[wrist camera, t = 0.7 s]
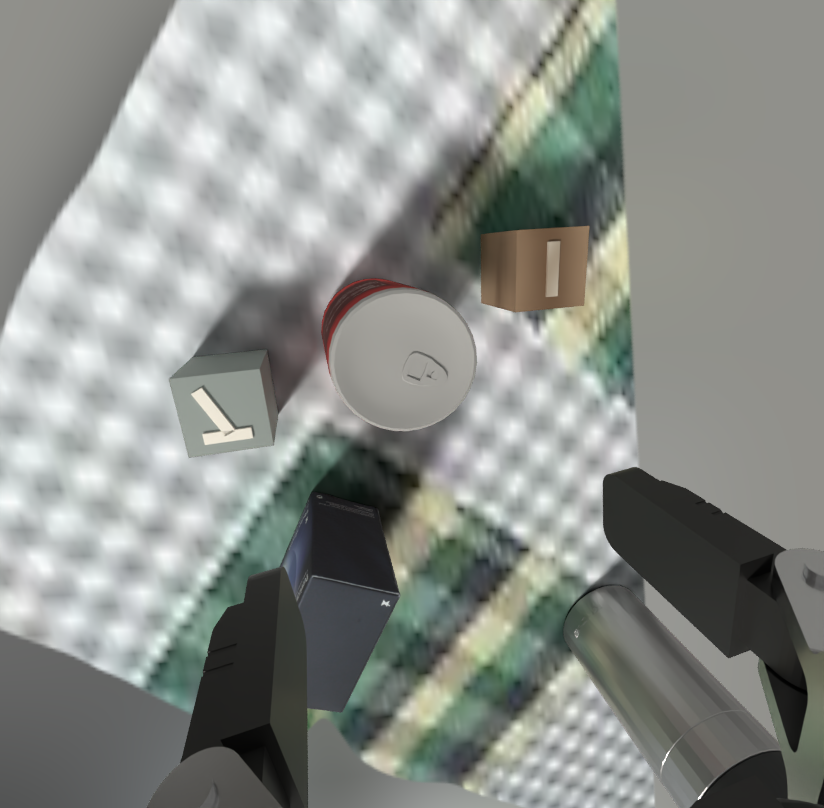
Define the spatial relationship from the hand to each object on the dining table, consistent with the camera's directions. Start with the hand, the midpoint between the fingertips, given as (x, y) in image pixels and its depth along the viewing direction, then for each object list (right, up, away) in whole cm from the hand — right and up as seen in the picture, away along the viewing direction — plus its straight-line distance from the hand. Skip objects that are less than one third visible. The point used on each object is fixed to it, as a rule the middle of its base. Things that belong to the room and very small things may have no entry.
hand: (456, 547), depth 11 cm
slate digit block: (-14, +5, +21) cm, 26 cm away
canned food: (-4, +9, +23) cm, 25 cm away
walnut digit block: (+7, +14, +23) cm, 28 cm away
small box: (-9, -9, +27) cm, 30 cm away
